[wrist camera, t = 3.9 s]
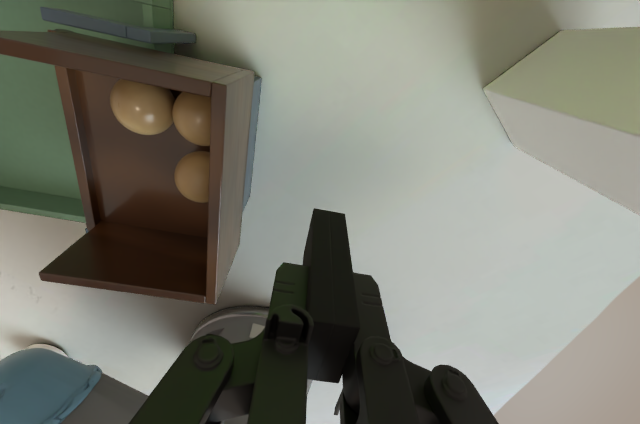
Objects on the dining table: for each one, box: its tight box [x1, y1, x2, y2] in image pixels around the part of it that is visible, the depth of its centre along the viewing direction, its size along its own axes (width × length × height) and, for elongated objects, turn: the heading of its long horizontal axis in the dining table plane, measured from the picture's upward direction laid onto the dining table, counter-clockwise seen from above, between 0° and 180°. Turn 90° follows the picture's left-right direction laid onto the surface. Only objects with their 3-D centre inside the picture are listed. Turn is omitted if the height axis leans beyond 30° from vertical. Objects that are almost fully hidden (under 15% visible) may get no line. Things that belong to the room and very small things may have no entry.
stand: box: [40, 7, 262, 233], centre depth 22 cm, size 14×10×7 cm
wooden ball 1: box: [110, 79, 175, 135], centre depth 16 cm, size 3×3×3 cm
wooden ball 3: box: [174, 151, 210, 203], centre depth 18 cm, size 3×3×3 cm
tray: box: [0, 0, 174, 223], centre depth 22 cm, size 17×17×3 cm
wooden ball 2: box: [172, 92, 211, 146], centre depth 16 cm, size 3×3×3 cm
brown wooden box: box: [0, 29, 255, 305], centre depth 17 cm, size 12×10×6 cm
